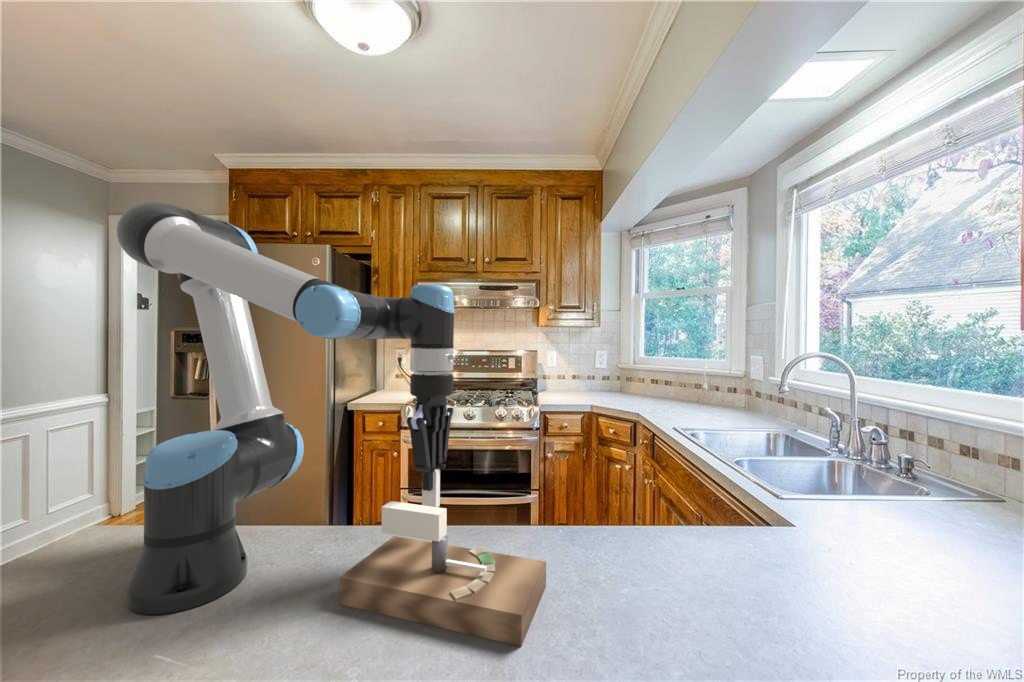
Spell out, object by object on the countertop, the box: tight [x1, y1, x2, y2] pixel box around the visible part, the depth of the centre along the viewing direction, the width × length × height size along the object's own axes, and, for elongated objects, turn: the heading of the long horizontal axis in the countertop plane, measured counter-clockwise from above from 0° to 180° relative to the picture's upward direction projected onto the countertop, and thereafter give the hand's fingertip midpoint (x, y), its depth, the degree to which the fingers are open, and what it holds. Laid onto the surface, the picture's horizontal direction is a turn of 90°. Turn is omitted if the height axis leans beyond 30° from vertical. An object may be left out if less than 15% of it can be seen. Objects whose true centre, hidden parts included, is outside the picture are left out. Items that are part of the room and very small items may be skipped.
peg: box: [381, 500, 487, 572], centre depth 65 cm, size 17×3×9 cm, turn 73°
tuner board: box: [339, 535, 547, 647], centre depth 65 cm, size 28×14×4 cm, turn 72°
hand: (430, 506), depth 74 cm, fingers closed
